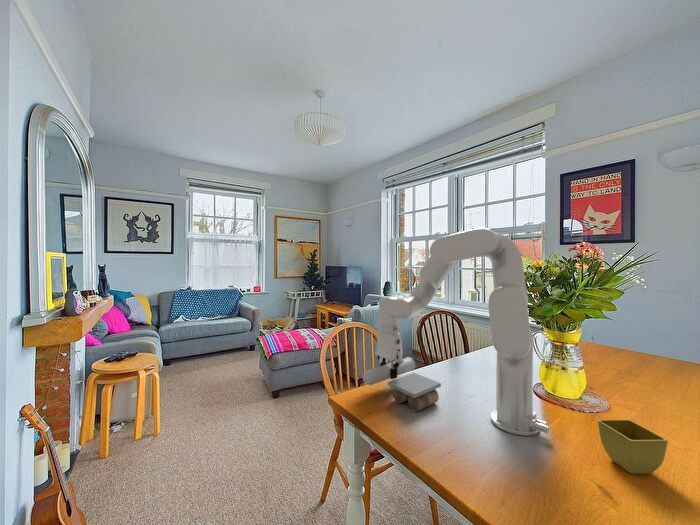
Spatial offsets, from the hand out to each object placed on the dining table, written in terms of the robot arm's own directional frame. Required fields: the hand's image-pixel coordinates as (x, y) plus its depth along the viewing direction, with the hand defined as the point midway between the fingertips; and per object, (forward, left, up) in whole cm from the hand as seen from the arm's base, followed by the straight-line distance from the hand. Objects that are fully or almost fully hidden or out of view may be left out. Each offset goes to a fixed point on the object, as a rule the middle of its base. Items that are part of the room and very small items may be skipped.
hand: (388, 375), depth 110 cm
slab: (-13, 0, 0) cm, 13 cm away
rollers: (-13, 0, -5) cm, 14 cm away
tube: (0, 0, -1) cm, 1 cm away
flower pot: (-65, -16, -5) cm, 67 cm away
